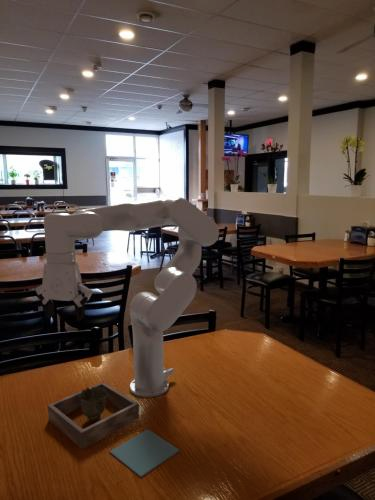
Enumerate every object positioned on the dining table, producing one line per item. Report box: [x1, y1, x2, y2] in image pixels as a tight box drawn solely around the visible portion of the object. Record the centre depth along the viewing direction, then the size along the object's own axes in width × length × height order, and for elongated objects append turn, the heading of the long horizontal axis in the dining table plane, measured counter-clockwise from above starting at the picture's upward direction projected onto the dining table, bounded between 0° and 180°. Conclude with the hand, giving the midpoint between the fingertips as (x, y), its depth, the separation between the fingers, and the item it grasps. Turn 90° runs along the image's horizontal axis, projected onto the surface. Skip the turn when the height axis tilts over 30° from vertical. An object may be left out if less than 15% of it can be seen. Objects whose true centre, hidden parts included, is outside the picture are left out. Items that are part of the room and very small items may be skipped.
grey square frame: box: [47, 381, 140, 450], centre depth 107 cm, size 18×18×4 cm
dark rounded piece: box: [79, 386, 107, 423], centre depth 107 cm, size 8×7×8 cm
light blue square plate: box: [109, 428, 180, 478], centre depth 94 cm, size 12×12×1 cm
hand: (65, 318), depth 108 cm, fingers open, 9 cm apart
